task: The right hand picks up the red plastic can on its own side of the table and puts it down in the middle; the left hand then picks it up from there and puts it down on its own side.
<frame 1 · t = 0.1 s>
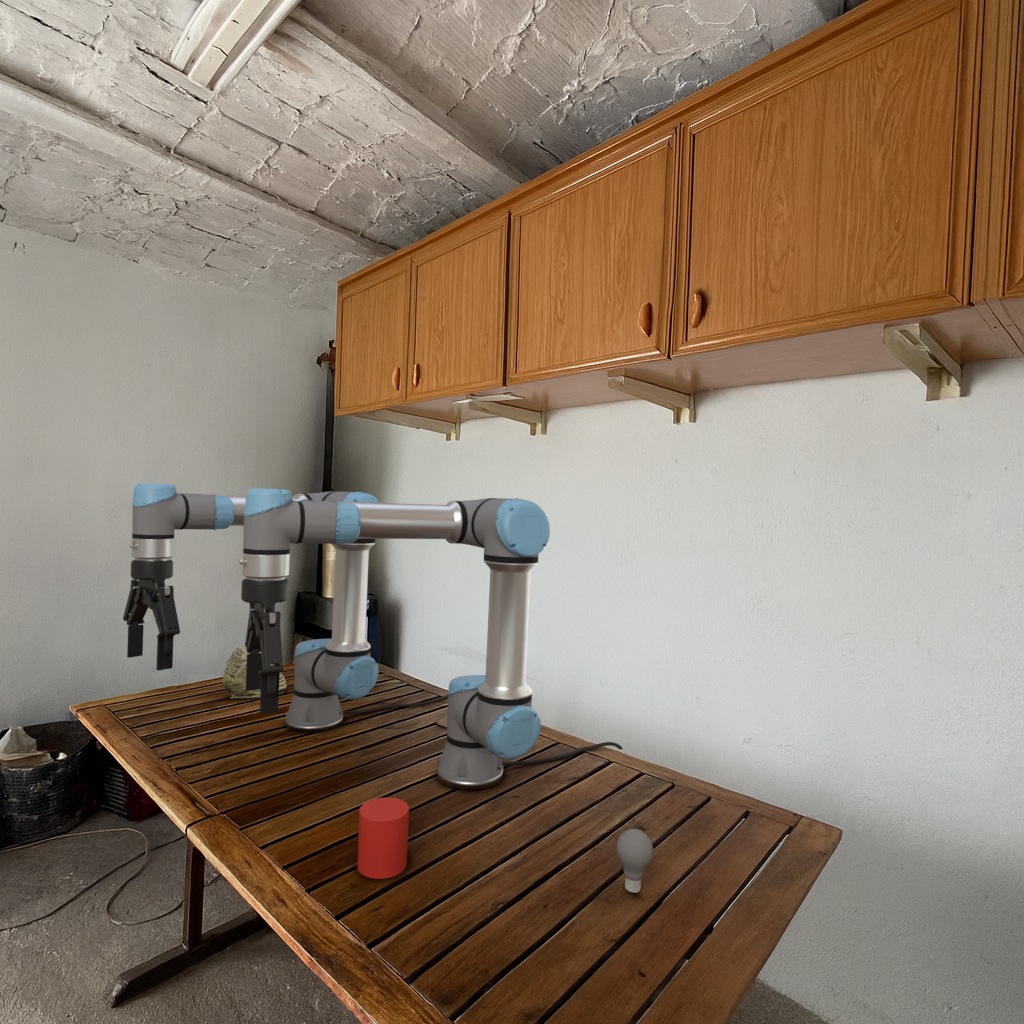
left hand: (149, 662, 129), 28 cm above the table, tool pointing down, fingers open, 13 cm apart
right hand: (261, 700, 109), 28 cm above the table, tool pointing down, fingers open, 13 cm apart
fossil: (254, 694, 198), on the table
anatomical model: (461, 723, 181), on the table
can: (382, 864, 110), on the table
light bulb: (632, 891, 106), on the table
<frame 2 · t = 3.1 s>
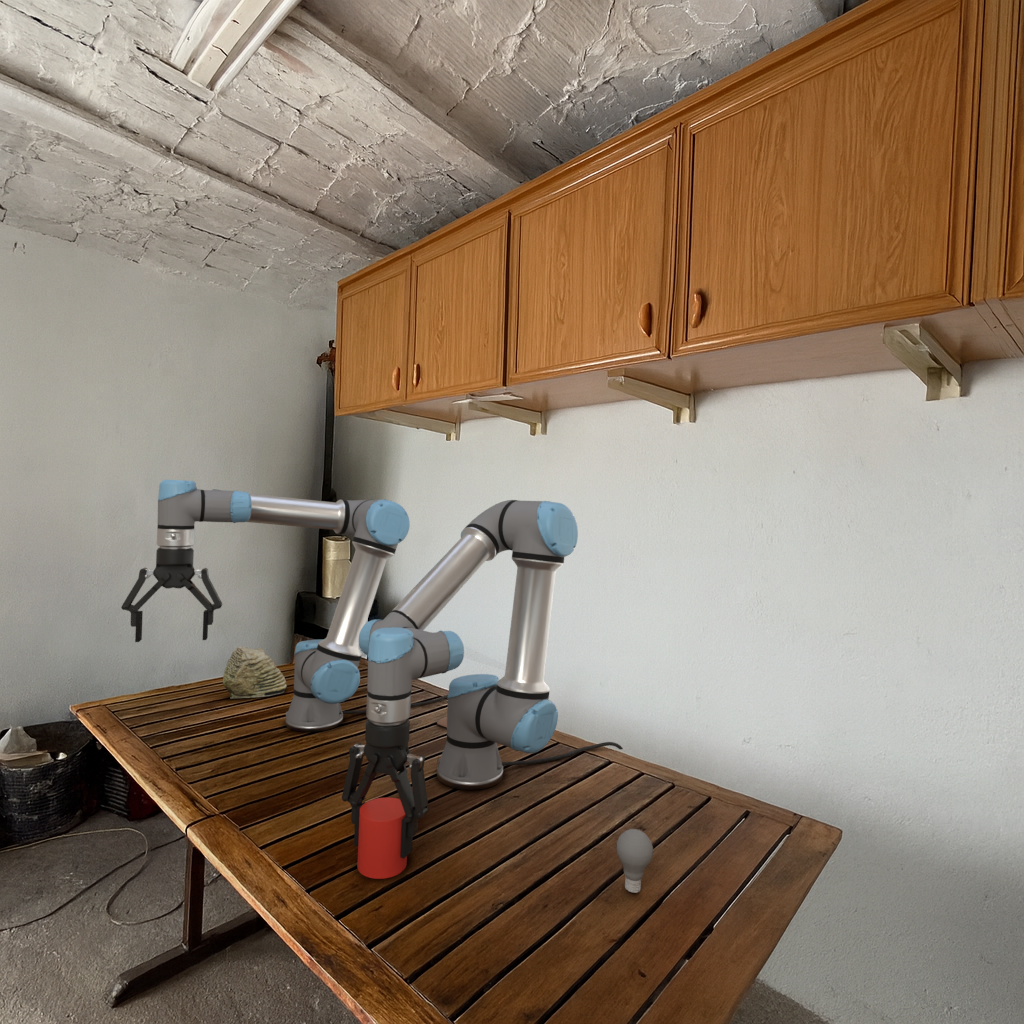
left hand: (172, 640, 145), 29 cm above the table, tool pointing down, fingers open, 13 cm apart
right hand: (382, 847, 110), 3 cm above the table, tool pointing down, fingers closed on can, 8 cm apart
can: (382, 864, 110), on the table, touching right hand
everything else where it was.
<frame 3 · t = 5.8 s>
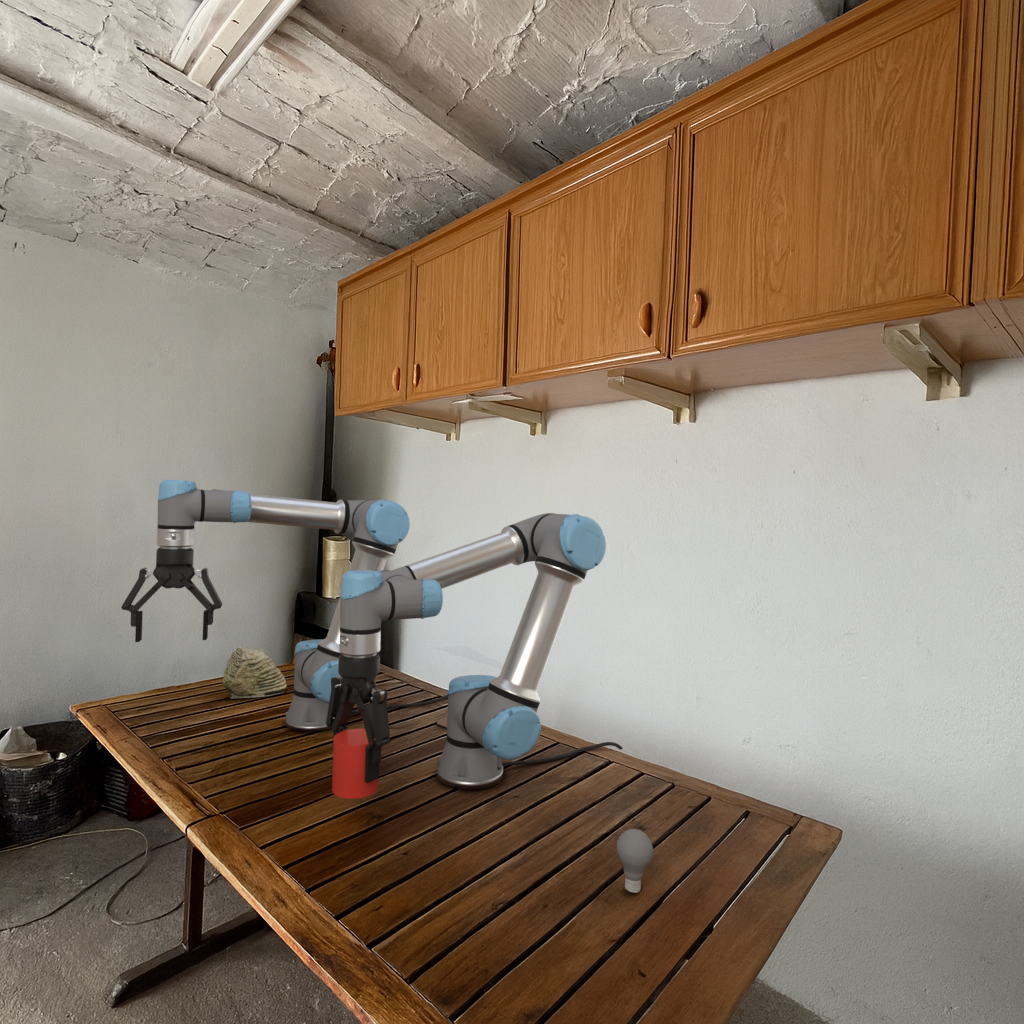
left hand: (172, 640, 145), 29 cm above the table, tool pointing down, fingers open, 13 cm apart
right hand: (355, 772, 119), 12 cm above the table, tool pointing down, fingers closed on can, 8 cm apart
can: (355, 788, 119), point 9 cm above the table, touching right hand
everything else where it was.
when the right hand's fingers open (4 cm above the table, at t = 8.6 s): can drops 2 cm, on the table.
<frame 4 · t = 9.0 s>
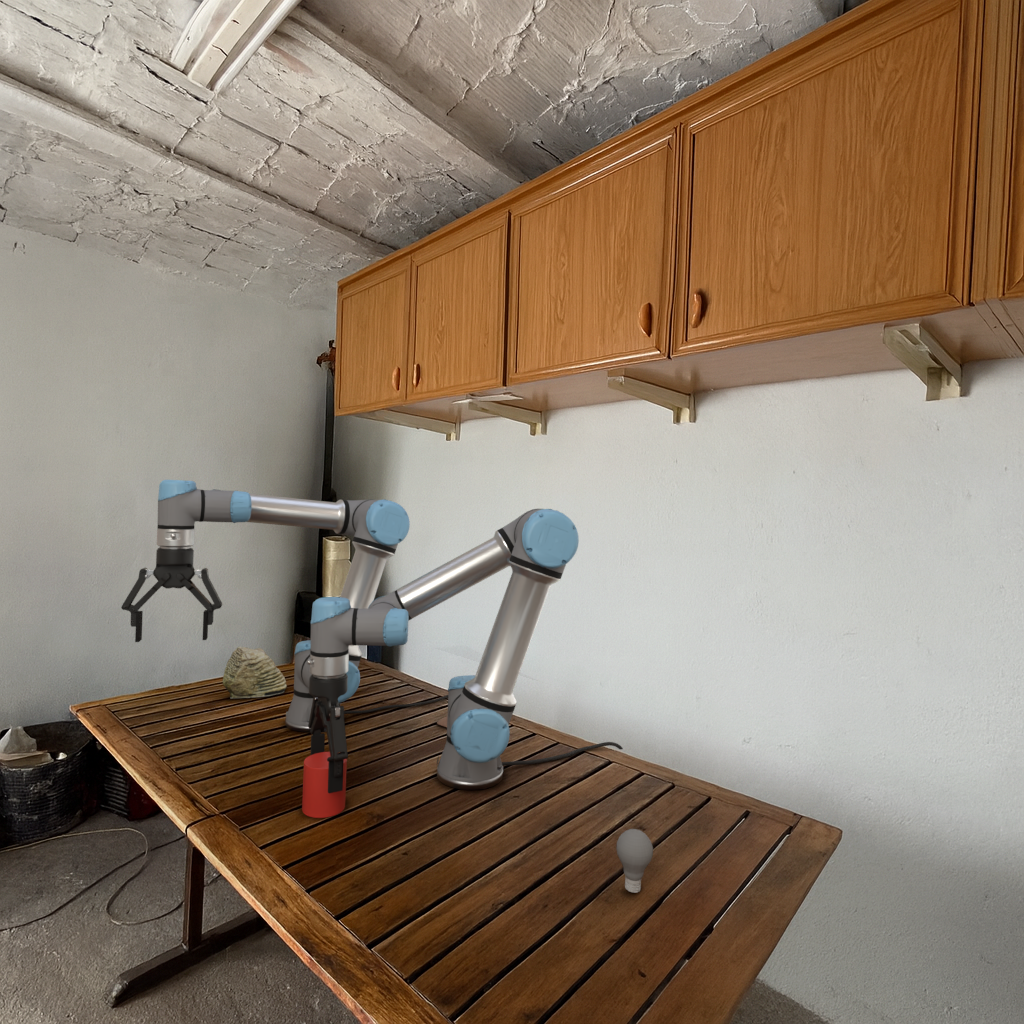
left hand: (172, 640, 145), 29 cm above the table, tool pointing down, fingers open, 13 cm apart
right hand: (325, 777, 129), 6 cm above the table, tool pointing down, fingers open, 13 cm apart
can: (323, 807, 129), on the table
everything else where it was.
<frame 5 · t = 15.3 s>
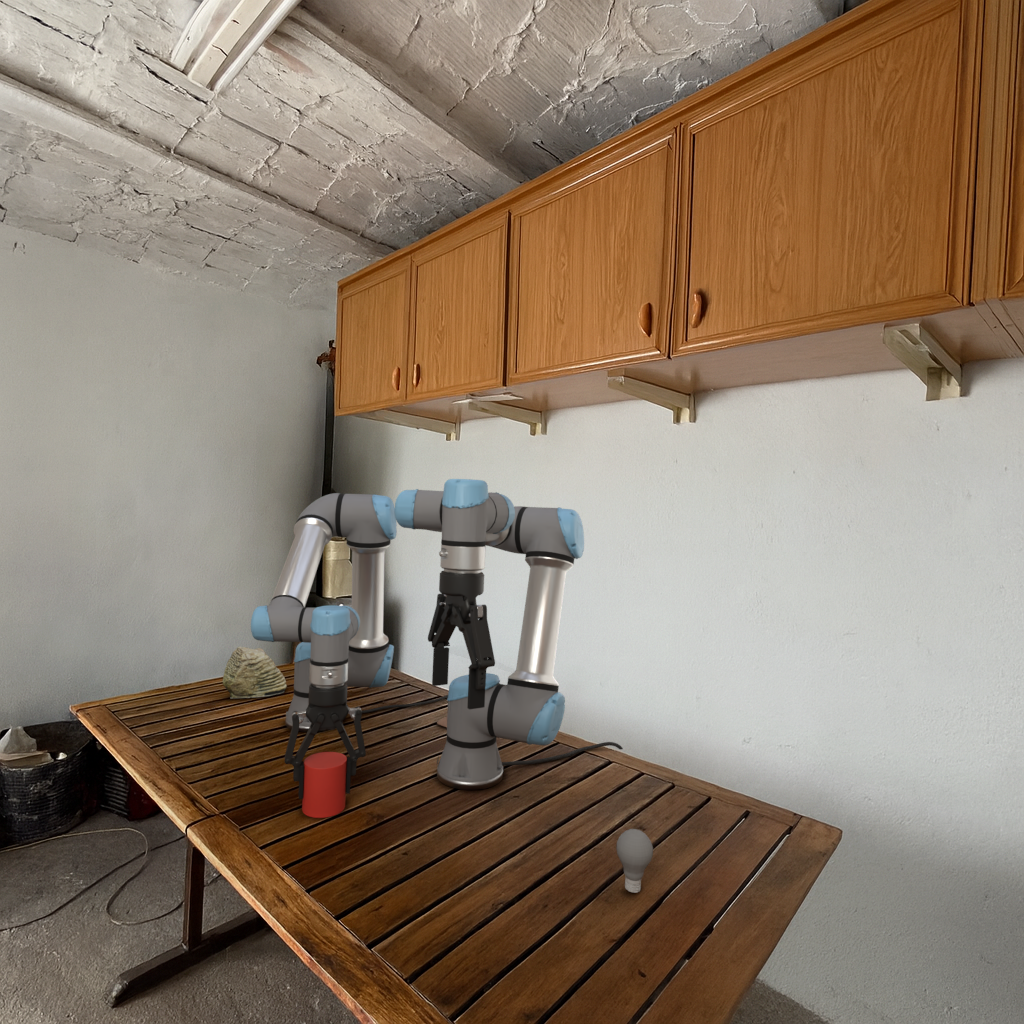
left hand: (324, 793, 129), 3 cm above the table, tool pointing down, fingers closed on can, 8 cm apart
right hand: (456, 695, 107), 31 cm above the table, tool pointing down, fingers open, 13 cm apart
can: (323, 807, 129), on the table, touching left hand
everything else where it was.
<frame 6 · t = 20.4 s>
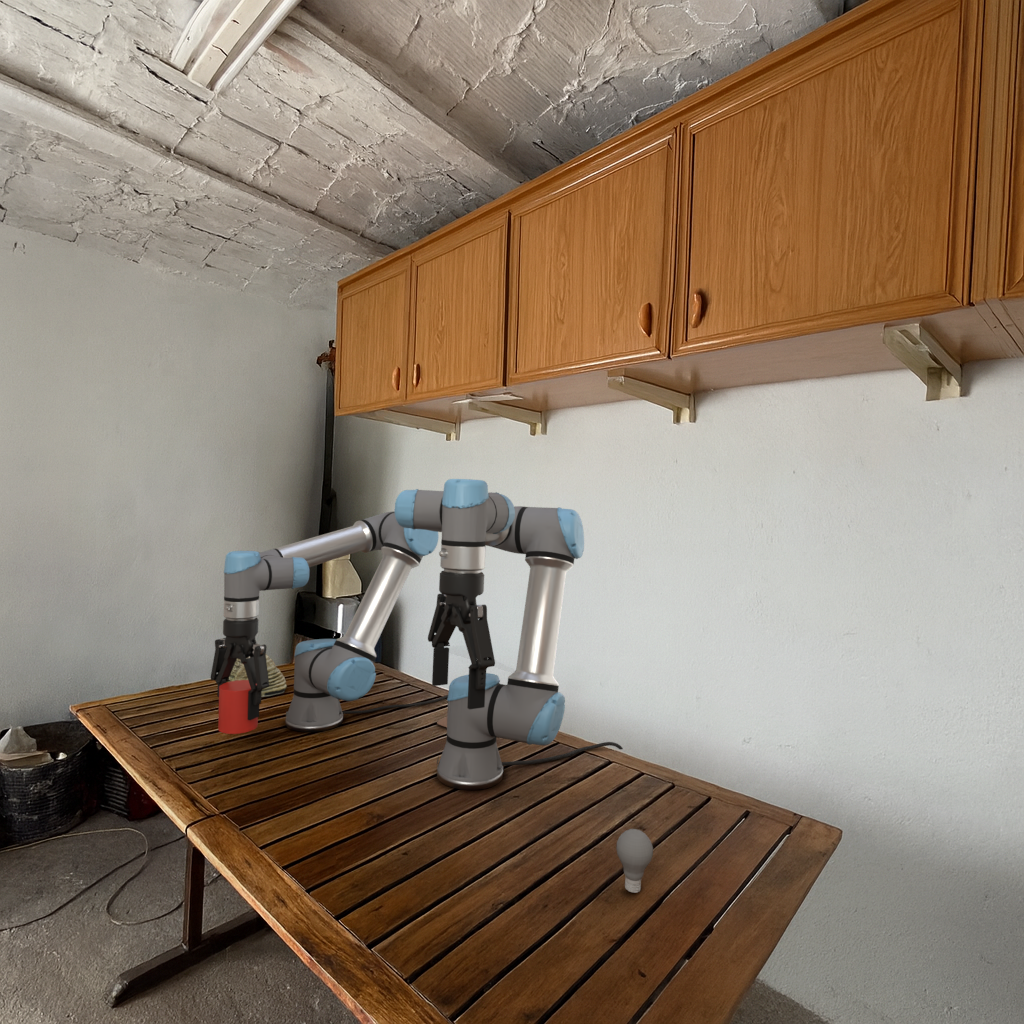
left hand: (238, 714, 147), 12 cm above the table, tool pointing down, fingers closed on can, 8 cm apart
right hand: (456, 695, 107), 31 cm above the table, tool pointing down, fingers open, 13 cm apart
can: (238, 727, 147), point 9 cm above the table, touching left hand
everything else where it was.
when the left hand's fingers open (4 cm above the table, at t = 25.8 s): can drops 2 cm, on the table.
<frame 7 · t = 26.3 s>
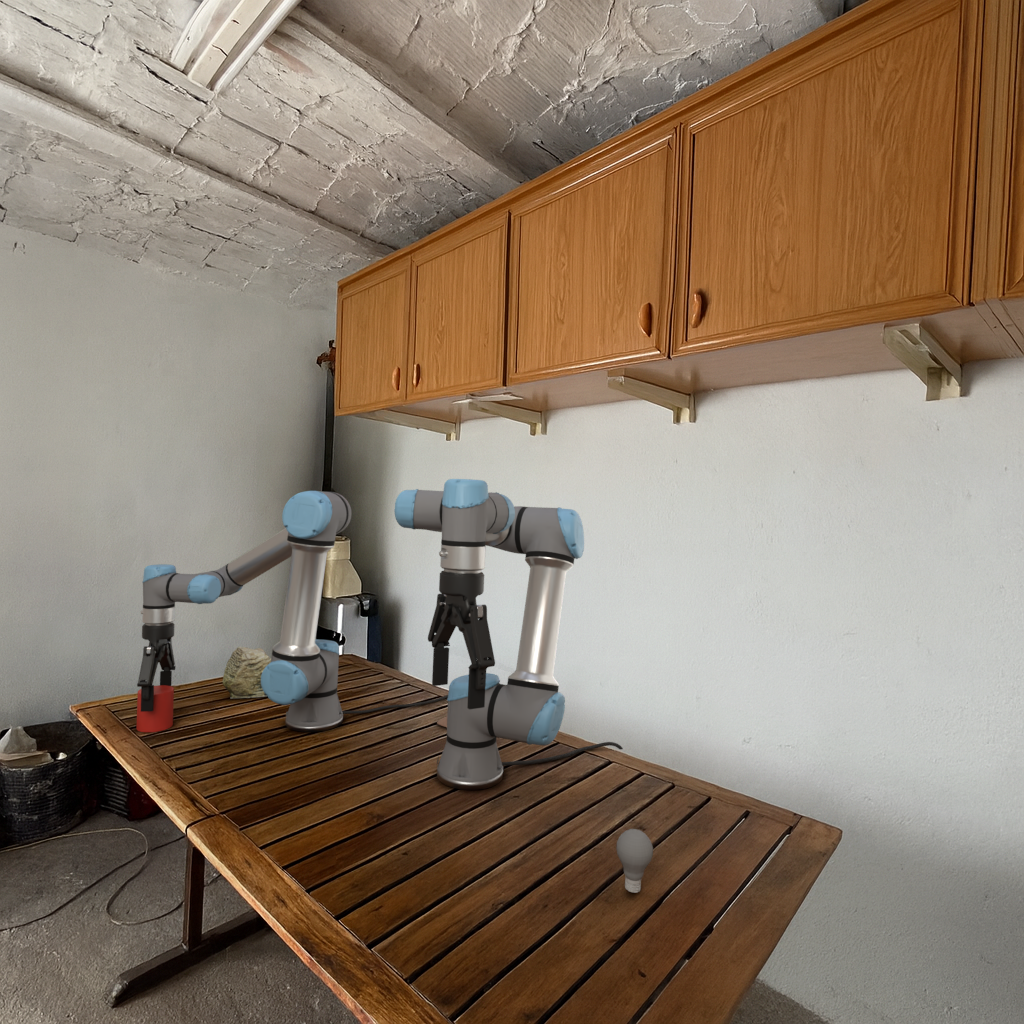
left hand: (156, 702, 168), 6 cm above the table, tool pointing down, fingers open, 13 cm apart
right hand: (456, 695, 107), 31 cm above the table, tool pointing down, fingers open, 13 cm apart
can: (154, 726, 169), on the table
everything else where it was.
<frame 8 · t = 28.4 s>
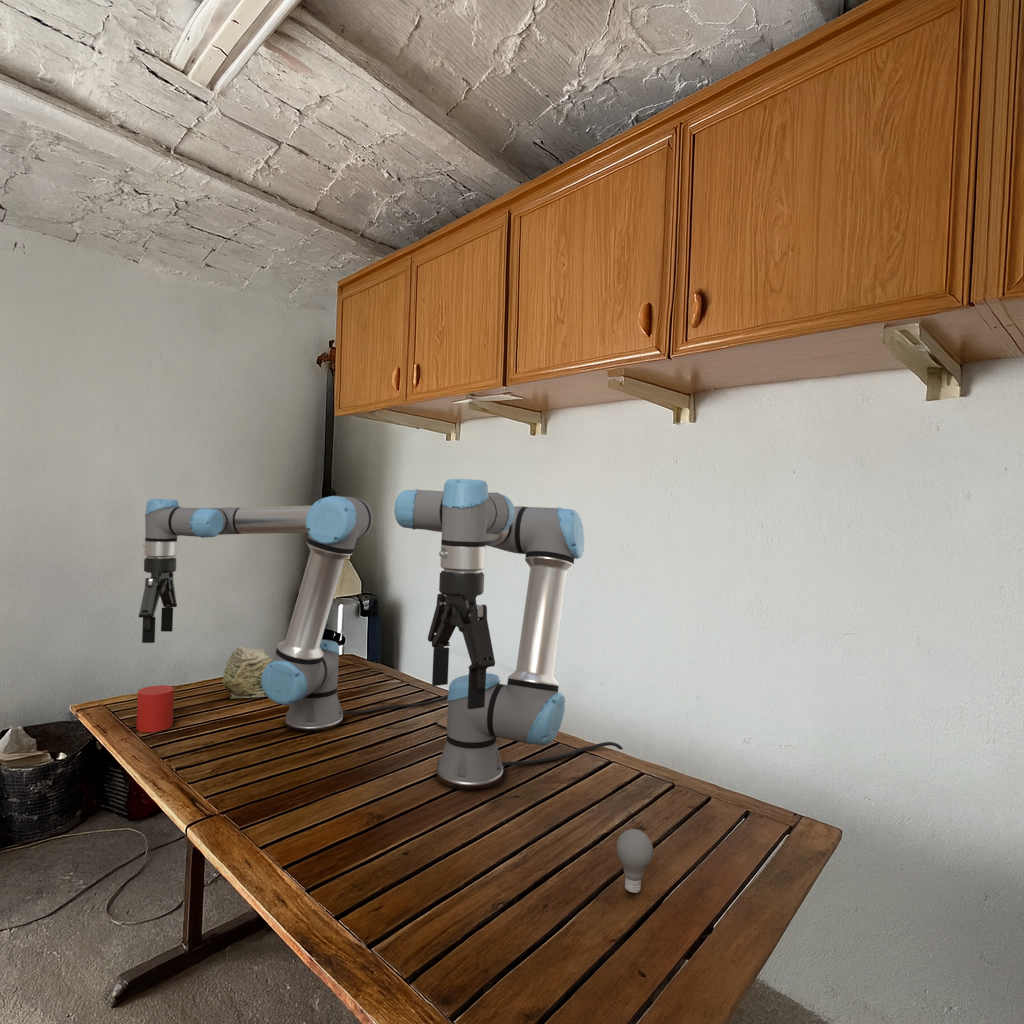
left hand: (157, 636, 168), 24 cm above the table, tool pointing down, fingers open, 13 cm apart
right hand: (456, 695, 107), 31 cm above the table, tool pointing down, fingers open, 13 cm apart
nothing on the table moved.
at the end: can inside the target area (0.0 cm from its centre), on the table; can tilted 0°; the two hands never held the can at the same time; the left hand is holding nothing; the right hand is holding nothing; can at rest at the end (0.0 cm/s) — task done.
